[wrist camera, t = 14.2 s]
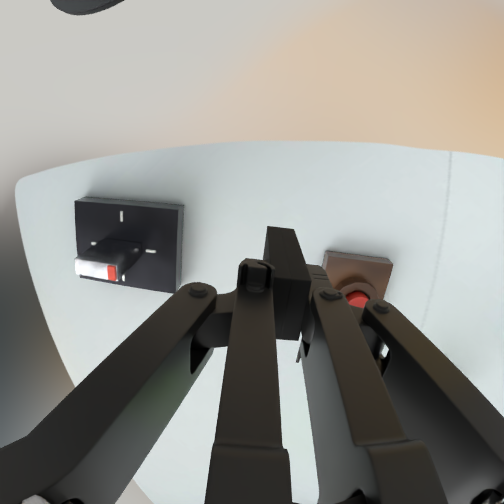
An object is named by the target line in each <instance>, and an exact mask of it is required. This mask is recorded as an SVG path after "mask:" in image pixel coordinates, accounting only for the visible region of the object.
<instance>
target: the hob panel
mask: <svg viewBox="0 0 504 504" xmlns="http://www.w3.org/2000/svg"><path fill="white" fill-rule="evenodd" d="M183 215H184V205H177V204H167V203H156V202H145V201H133V200H121V199H107V198H93V197H84V198H81V199H78V200H76V201H75V226H76V242H77V254H78V256H79V255H80V254H82V253H83V252H84V251H86V250H87V249H89V248H90V247H92V246H93V245H94V244H96V243H97V242H99V241H100V240H102V239H103V238H106V239H114V240H122V241H130V242H138V243H141V249H142V257H141V258H140V259H139V260H138V261H137V262H136V263H135V264H134V265H133V266H132V267H131V268H130V269H129V270H128V271H127V272H126V273H125V274H124V275H123V276H122V277H121V278H120V280H119V281H113V280H107V279H102V278H96V277H91V276H85V275H80V278H85V279H91V280H96V281H101V282H107V283H112V284H118V285H124V286H130V287H136V288H142V289H148V290H154V291H160V292H167V293H173V294H174V293H176V292H177V291H178V289H179V287H180V285H181V258H182V234H183Z"/></svg>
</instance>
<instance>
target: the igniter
mask: <svg viewBox="0 0 504 504" xmlns="http://www.w3.org/2000/svg"><path fill="white" fill-rule="evenodd" d="M322 268H323V269H324V270H325V271H326V273H327V276H328V278H329V280H330V282H331V284H332V286H333V289H336V290H338V291H340V292H342V293H343V294H344V295H345V297H346V296H347V295H348V294H349V293H351V292H355V291H359V292H363V293H364V294H365V295H366V296H367V297H368V299H369V300H370V299H381V300H383V298H384V295H385V291H386V288H387V285H388V282H389V278H390V275H391V271H392V268H393V264H392V263H391V261H390V260H389V259H384V258H377V257H369V256H362V255H354V254H346V253H339V252H331V251H325V256H324V260H323V265H322Z"/></svg>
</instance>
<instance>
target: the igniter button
mask: <svg viewBox="0 0 504 504" xmlns="http://www.w3.org/2000/svg"><path fill="white" fill-rule="evenodd" d="M346 299H347V301H348V303H349V305H353V306H356V307H360V308H364V306H365V302H366V301H368V300H369V299H368V297H367V296H366V295H365V294H364V293H363V292H359V291H355V292H351V293H349V294H348V295H347V296H346Z"/></svg>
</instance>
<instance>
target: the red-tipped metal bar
mask: <svg viewBox="0 0 504 504" xmlns="http://www.w3.org/2000/svg"><path fill="white" fill-rule="evenodd" d="M141 257H142V249H141V243H138V242H130V241H122V240H114V239H106V238H103V239H102V240H100V241H99V242H97V243H96V244H94V245H93V246H92V247H90V248H89V249H87V250H86V251H84V252H83V253H82V254H80V255H79V256H77V257H76V258H75V269H76V274H80V275H85V276H91V277H96V278H102V279H107V280H113V281H119V280H120V278H121V277H122V276H123V275H124V274H125V273H126V272H127V271H128V270H129V269H130V268H131V267H132V266H133V265H134V264H135V263H136V262H137V261H138V260H139V259H140V258H141Z"/></svg>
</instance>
